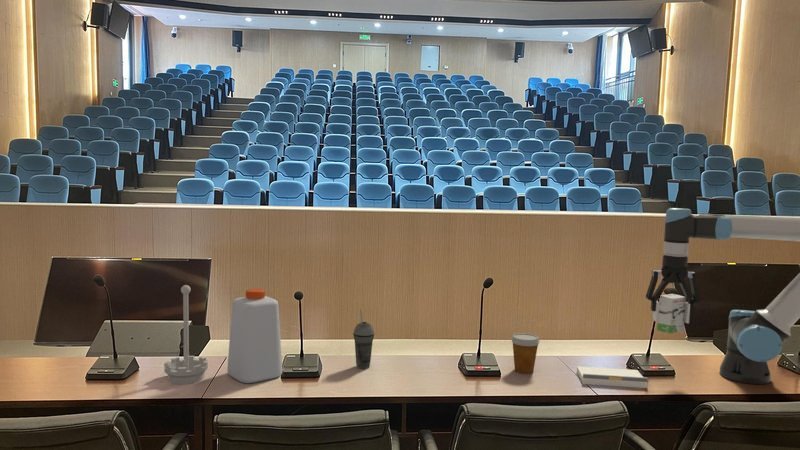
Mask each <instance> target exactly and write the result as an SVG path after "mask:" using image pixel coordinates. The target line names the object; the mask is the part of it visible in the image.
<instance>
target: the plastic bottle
mask: <svg viewBox="0 0 800 450" xmlns="http://www.w3.org/2000/svg"><path fill="white" fill-rule="evenodd" d="M231 302H232V303H231V315H230V327H229V328H230V329H229V342H228V356H227V357H228V358H227V375H229V376H230V377H232V378H234V379H235V380H236V381H238V382H239V383H243V384H255V383H259V382H263V381H268V380H272V379H276V378H279V377H280V376H281V375H282V374H283V357H282V344H281V343H282V342H281V341H282V340H281V327H280V309H279V302H278V299H277V300H276V299H274V298H272V297H269V296H267V295H266V291H265V289H262V288H250V289H247V290H246V291H245V296H242V297H237V298H234V299H233V301H231Z"/></svg>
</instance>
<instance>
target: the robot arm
mask: <svg viewBox="0 0 800 450" xmlns="http://www.w3.org/2000/svg"><path fill="white" fill-rule="evenodd" d="M663 235H664V236H663V249H662V251H663V252H662V253H663V255H662V263H661V264H662V265H661V269H659V270H654V269H653V270H652V271H651V279H650V282H649V285H648V288H647V291H646V295H645V299H646V300H648V301H650V310H651V311H652V312H653V314H652V321H654V322H655V323H658V314H659V296H660V294H661V295H663V292H664V290H665V289H666V287H667V286H668V285H669V284H673V283H675V284H678V285H679V286H680V288H681V290H682V293H683V295H684V297H686V301H685V316H684V324H685V323H686V324H690V314H692V313H693V311H694V305H695V303H699V302H700V301H701V299H700V295H699V289H698V285H697V284H698V283H697V276H698V274H697V272H695V271H689V270H688V263H689V262H688V261H689V257H688V255H689V248H690V247H689V246H690V245H689V243H690V239H705V240H717V241H720V240H725V241H726V240H729V239H731V238H740V239H743V238H744V239H758V240H771V241H772V240H774V241H790V242H800V217H782V216H781V217H779V216H760V215H759V216H758V215H757V216H756V215H740V214H717V213H709V212H703V213H700V214H699V215H698V214H697V215H695V214H692V209H690V208H684V207H683V208H679V207H669V208H668V209H666V213H665V220H664V234H663ZM660 276H662V279H661V281H660V284H659V285H658V287H657V288H656V286H657V284H658V279H659V277H660ZM686 277H688V278H689V284H690V290H691V292H690V290H689V288H688V286H687V283H686V281H685V279H686ZM655 289H656V290H655ZM799 319H800V272H799V273H798V274H797V275H796V276H795V277H794V278H793V279H792V280H791V281H790V282H789V283H788V285H786V286H785V287H784V288H783V289H782V291H781V292H780V293H779V294H778V295H777V296H776V297H775V298H774V299H773V300H772V301H771V302H770V303H769V304H768V305H767V306H766V307H765V309H764V308H763V309H756V311H755V310H746V309H732V310H730V312H729V315H728V330H727V331H728V332H727V343H726V344H727V346H726V347H727V348H726V352H725V355H724V357H723V360H722V361H721V364H720V366H719V375H721V376H722V377H724V378H726V379H728V380H731V381H735V382H738V383H744V384H750V385H767V384H769V383H770V382H771V377H772V376H771V375H772V374H771V371H770V368H769V363H768V362H770V361H772V360H774V359H776V358H777V357H778V356H779V355H780V354H781V352H782V348H783V344H784V343H785V342H786V341H787V340H788V339H789V338H790V337H791V335H792V333H791V328H792V326H793V325H795V323H796V322H797V321H799Z"/></svg>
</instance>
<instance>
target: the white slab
mask: <svg viewBox="0 0 800 450" xmlns="http://www.w3.org/2000/svg"><path fill="white" fill-rule="evenodd" d="M576 373H577V376H578V377H579V379H580V381H581V383H582V384H583V385H594V386H607V387H611V386H612V387H623V388H627V387H628V388H637V389H638V388H639V389H648V380H649V378H648V377H645V376H643V375H642V373H640V371H639V370H638V369H628V368H627V369H626V368H624V369H623V368H610V367H609V368H608V367H597V366H596V367H595V366H594V367H592V366H579V365H578V366H576Z"/></svg>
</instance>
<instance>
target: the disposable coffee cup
mask: <svg viewBox="0 0 800 450" xmlns="http://www.w3.org/2000/svg"><path fill="white" fill-rule="evenodd" d="M511 342H512V350H513V363H514V371H515V372H517V373H520V374H532V373H534V369H535V365H536V357H537V353H538V348H539V347H538V346H539V344H540V339H539V336H538V335H536V334H533V333H526V332H522V333H521V332H517V333H514V334H513V335H512V337H511Z"/></svg>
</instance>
